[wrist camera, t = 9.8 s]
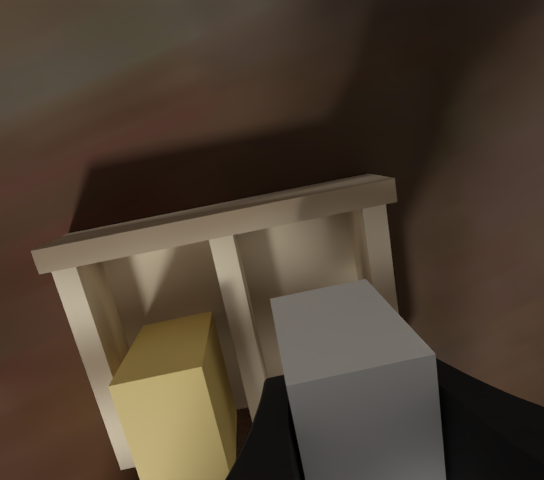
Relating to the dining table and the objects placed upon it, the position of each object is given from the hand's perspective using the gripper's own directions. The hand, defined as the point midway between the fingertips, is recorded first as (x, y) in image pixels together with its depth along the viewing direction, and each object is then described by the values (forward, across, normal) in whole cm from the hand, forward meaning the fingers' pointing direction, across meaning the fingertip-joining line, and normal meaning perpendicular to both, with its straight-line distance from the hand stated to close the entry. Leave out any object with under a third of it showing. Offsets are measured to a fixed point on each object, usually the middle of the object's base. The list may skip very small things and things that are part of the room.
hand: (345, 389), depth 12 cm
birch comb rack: (+8, +3, 0) cm, 9 cm away
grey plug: (+2, 0, 0) cm, 2 cm away
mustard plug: (+8, +6, +3) cm, 10 cm away
